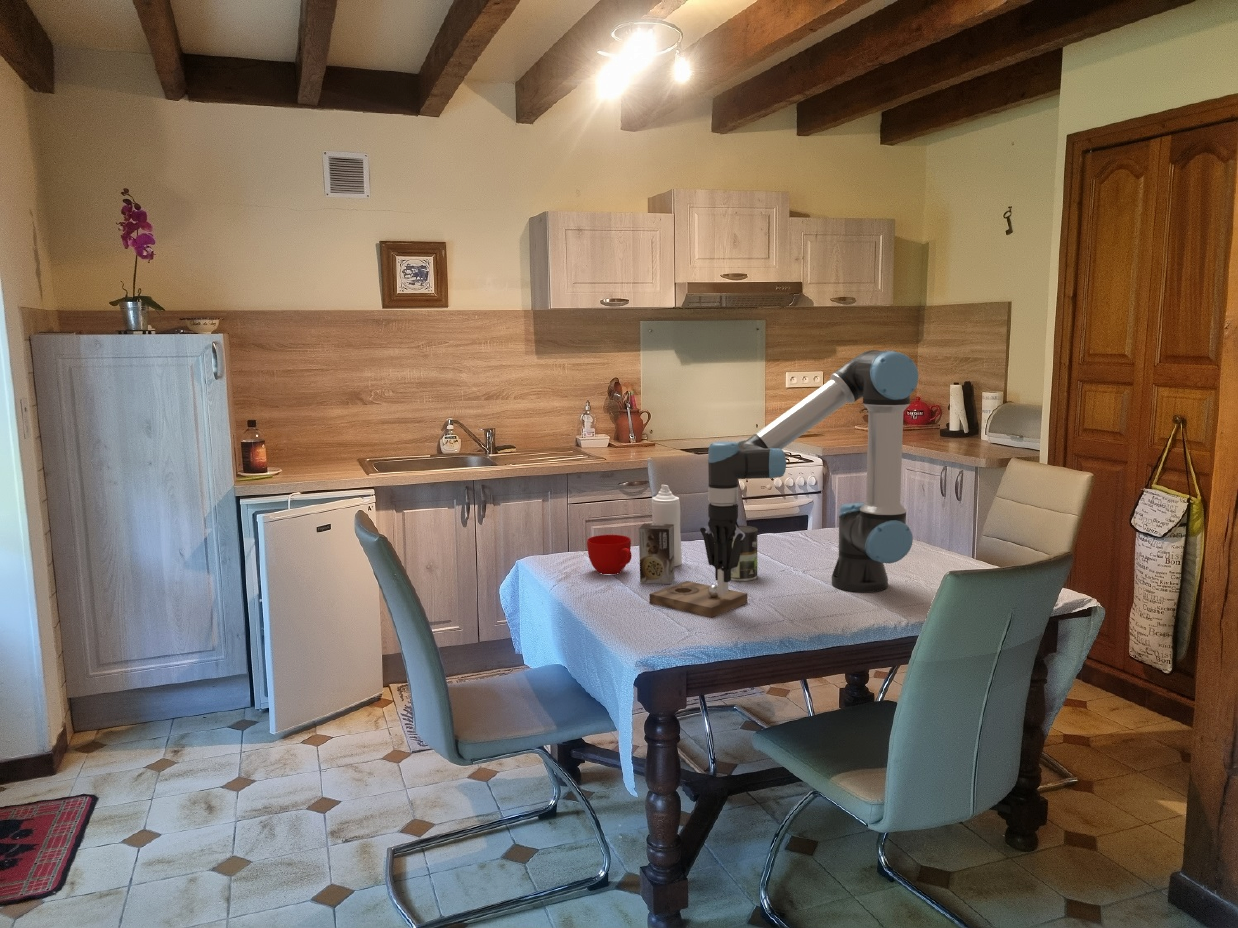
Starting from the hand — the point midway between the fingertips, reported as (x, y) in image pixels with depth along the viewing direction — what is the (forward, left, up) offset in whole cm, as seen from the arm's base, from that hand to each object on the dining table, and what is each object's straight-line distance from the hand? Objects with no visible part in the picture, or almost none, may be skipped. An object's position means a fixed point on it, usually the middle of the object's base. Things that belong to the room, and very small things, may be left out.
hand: (723, 593), depth 241 cm
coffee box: (+30, -10, -4) cm, 32 cm away
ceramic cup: (+45, -8, -4) cm, 46 cm away
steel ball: (+3, 0, 0) cm, 3 cm away
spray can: (+39, -26, -4) cm, 47 cm away
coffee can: (+14, -28, -4) cm, 32 cm away
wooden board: (+8, 0, -4) cm, 9 cm away
